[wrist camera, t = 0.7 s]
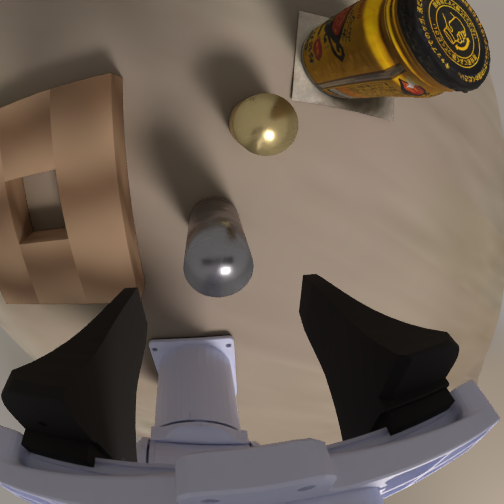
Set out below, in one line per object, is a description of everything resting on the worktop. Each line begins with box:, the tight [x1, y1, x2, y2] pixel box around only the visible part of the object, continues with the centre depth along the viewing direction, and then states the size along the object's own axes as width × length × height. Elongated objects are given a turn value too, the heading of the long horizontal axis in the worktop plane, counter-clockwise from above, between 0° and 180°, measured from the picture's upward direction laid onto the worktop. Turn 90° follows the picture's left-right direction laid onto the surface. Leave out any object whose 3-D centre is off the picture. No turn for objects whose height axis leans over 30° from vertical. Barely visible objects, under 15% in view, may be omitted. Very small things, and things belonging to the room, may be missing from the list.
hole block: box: [0, 73, 145, 304], centre depth 17 cm, size 16×14×2 cm
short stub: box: [229, 93, 298, 156], centre depth 17 cm, size 4×4×4 cm
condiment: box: [292, 0, 490, 121], centre depth 12 cm, size 7×8×12 cm
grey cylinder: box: [184, 197, 253, 297], centre depth 18 cm, size 4×4×7 cm
